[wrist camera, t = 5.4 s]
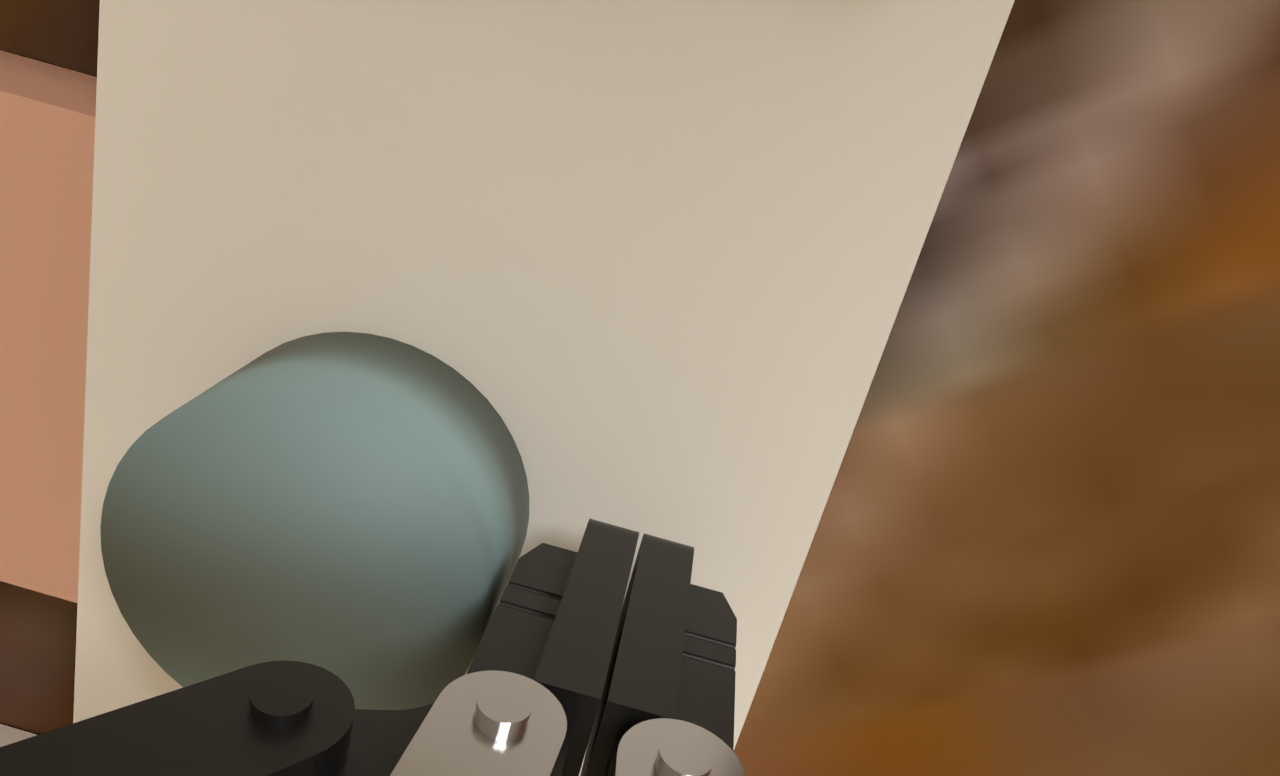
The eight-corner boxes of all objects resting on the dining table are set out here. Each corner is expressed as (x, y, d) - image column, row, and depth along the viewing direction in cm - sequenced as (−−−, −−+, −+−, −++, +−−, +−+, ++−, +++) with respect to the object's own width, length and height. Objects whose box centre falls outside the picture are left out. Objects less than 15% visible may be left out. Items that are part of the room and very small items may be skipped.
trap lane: (-405, -603, 12) (-1096, -989, 8) (1047, -211, 12) (1229, -368, 8) (-247, 686, 20) (-543, 877, 16) (633, 944, 20) (596, 1215, 15)
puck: (221, 291, 13) (107, 344, 11) (561, 385, 13) (521, 459, 11) (195, 582, 15) (93, 682, 13) (495, 667, 15) (447, 782, 13)
